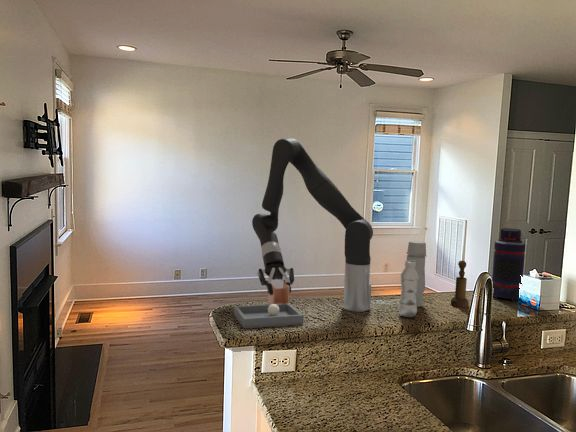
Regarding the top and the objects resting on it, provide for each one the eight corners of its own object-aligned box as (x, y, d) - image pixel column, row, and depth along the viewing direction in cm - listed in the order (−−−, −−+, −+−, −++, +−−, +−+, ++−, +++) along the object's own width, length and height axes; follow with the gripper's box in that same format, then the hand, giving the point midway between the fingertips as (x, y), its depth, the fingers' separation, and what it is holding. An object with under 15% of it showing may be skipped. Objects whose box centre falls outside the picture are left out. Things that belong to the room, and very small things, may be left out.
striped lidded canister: (520, 303, 191) (525, 231, 189) (489, 298, 197) (494, 228, 195) (522, 296, 203) (527, 228, 201) (493, 292, 209) (497, 226, 207)
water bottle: (413, 308, 176) (417, 243, 174) (399, 303, 183) (402, 241, 181) (430, 306, 181) (434, 243, 179) (416, 301, 188) (419, 240, 186)
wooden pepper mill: (470, 305, 185) (473, 260, 184) (466, 308, 180) (469, 262, 178) (452, 302, 189) (455, 258, 187) (449, 305, 183) (452, 260, 182)
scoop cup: (283, 302, 175) (284, 282, 174) (288, 306, 169) (289, 286, 169) (268, 303, 173) (269, 283, 172) (273, 307, 167) (273, 287, 167)
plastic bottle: (414, 314, 169) (418, 260, 167) (418, 319, 162) (421, 263, 161) (396, 313, 170) (399, 259, 168) (399, 318, 163) (402, 262, 161)
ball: (282, 305, 159) (279, 312, 155) (278, 313, 160) (274, 320, 157) (272, 299, 159) (268, 306, 155) (268, 307, 161) (264, 314, 157)
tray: (288, 311, 167) (288, 303, 166) (303, 324, 153) (303, 315, 152) (233, 314, 160) (234, 306, 160) (244, 328, 146) (244, 319, 146)
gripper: (256, 250, 174) (263, 289, 164) (292, 250, 179) (301, 287, 169) (252, 261, 180) (259, 299, 170) (287, 261, 184) (296, 298, 174)
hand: (280, 293), depth 169 cm, fingers closed on scoop cup, 6 cm apart
